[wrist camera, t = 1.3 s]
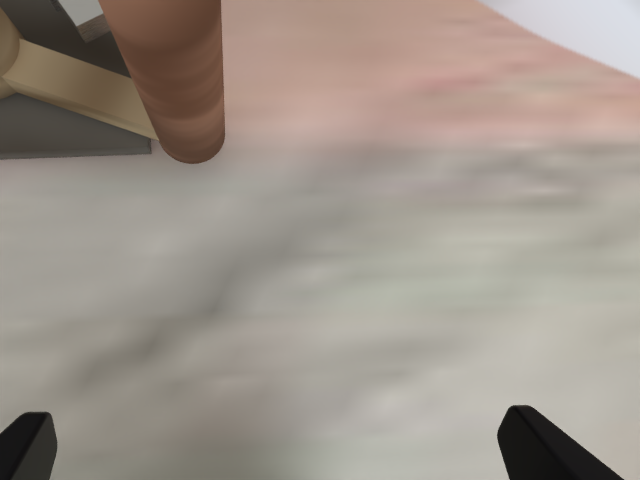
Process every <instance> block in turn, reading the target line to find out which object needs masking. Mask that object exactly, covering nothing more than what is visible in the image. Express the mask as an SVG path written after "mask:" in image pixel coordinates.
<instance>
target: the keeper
mask: <svg viewBox="0 0 640 480" xmlns="http://www.w3.org/2000/svg"><path fill="white" fill-rule="evenodd" d="M49 2H50V3H51V5H52V6H53V7H54V9H55V10H56V12H58V11H60V10H63V12H64V13H65V14H66V16H67V17H68V19H69V20H70V21H71V23H72V24H73V26H74V27H75V28H76V30H77V31H78V33H79V34H80V36H81V37H82V38H83V40H84V41H85V43H88V42H90V41H92V40H94V39H96V38H97V37H99V36H101V35H103V34H105V33H107V32H109V31H111V29H110V27H109V25H108V22H107V20H106V18H105V15H104V13H103V11H102V9H101V6H100V4H99V2H98V0H49Z"/></svg>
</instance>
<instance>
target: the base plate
mask: <svg viewBox="0 0 640 480" xmlns="http://www.w3.org/2000/svg"><path fill="white" fill-rule="evenodd" d="M0 7H1V9H2V10H3V11H4V12H5V14H6V15H7V16H8V18H9V19H10V20H11V21H12V23H13V24H14V25H15V27H16V28H17V29H18V31H19V32H20V33H21V34H22V36H23V37H24V38H25V40H26V41H28V42H31V43H34V44H36V45H39V46H42V47H45V48H47V49H50V50H53V51H56V52H59V53H61V54H64V55H67V56H70V57H73V58H75V59H78V60H81V61H84V62H87V63H89V64H92V65H95V66H98V67H100V68H103V69H106V70H109V71H112V72H114V73H117V74H120V75H123V76H126V77H128V78H131V75H130V73H129V71H128V68H127V66H126V64H125V61H124V59H123V57H122V55H121V52H120V50H119V48H118V45H117V43H116V41H115V38H114V36H113V34H112V32H111V31H109V32H107V33H105V34H103V35H101V36H99V37H97V38H96V39H94V40H92V41H90V42H88V43H85V41H84V40H83V38H82V37H81V36H80V34H79V33H78V31H77V30H76V28H75V27H74V26H73V24H72V23H71V21H70V20H69V19H68V17H67V16H66V14H65V13H64V12H63V10H60V11H58V12H56V10H55V9H54V7H53V6H52V5H51V3H50V2H49V0H0ZM131 79H132V78H131ZM133 154H151V141H150V138H149V137H146V136H143V135H140V134H137V133H135V132H132V131H129V130H126V129H123V128H120V127H117V126H114V125H111V124H108V123H105V122H102V121H100V120H97V119H94V118H91V117H88V116H85V115H82V114H79V113H76V112H73V111H70V110H67V109H65V108H62V107H59V106H56V105H53V104H50V103H47V102H44V101H41V100H38V99H35V98H32V97H30V96H27V95H24V94H21V93H18V92H16V93H14V94H13V95H11V96H8V97H6V98H3V99H0V159H25V158H52V157H79V156H106V155H133Z"/></svg>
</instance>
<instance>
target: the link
mask: <svg viewBox="0 0 640 480" xmlns="http://www.w3.org/2000/svg"><path fill="white" fill-rule="evenodd" d="M98 2H99V4H100V6H101V9H102V11H103V13H104V15H105V18H106V20H107V22H108V25H109V27H110V29H111V32H112V34H113V36H114V38H115V41H116V43H117V45H118V48H119V50H120V52H121V55H122V57H123V59H124V61H125V64H126V66H127V68H128V71H129V73H130V75H131V78H132V79H131V78H128V77H126V76H123V75H120V74H117V73H114V72H112V71H109V70H106V69H103V68H100V67H98V66H95V65H92V64H89V63H87V62H84V61H81V60H78V59H75V58H73V57H70V56H67V55H64V54H61V53H59V52H56V51H53V50H50V49H47V48H45V47H42V46H39V45H36V44H34V43H31V42H28V41H26V40H25V38H24V37H23V36H22V34H21V33H20V32H19V31H18V29H17V28H16V27H15V25H14V24H13V23H12V21H11V20H10V19H9V18H8V16H7V15H6V14H5V12H4V11H3V10H2V9H1V7H0V99H3V98H6V97H8V96H11V95H13V94H14V93H16V92H18V93H21V94H24V95H27V96H30V97H32V98H35V99H38V100H41V101H44V102H47V103H50V104H53V105H56V106H59V107H62V108H65V109H67V110H70V111H73V112H76V113H79V114H82V115H85V116H88V117H91V118H94V119H97V120H100V121H102V122H105V123H108V124H111V125H114V126H117V127H120V128H123V129H126V130H129V131H132V132H135V133H137V134H140V135H143V136H146V137H149V138H152V139H155V140H158V141H159V142H160V144H161V146H162V148H163V149H164V151H165V152H166V153H167V154H168V155H169V156H171V157H172V158H174V159H175V160H177V161H180V162H183V163H188V164H196V163H202V162H205V161H207V160H209V159H211V158H212V157H214V156H215V155H216V154H217V153H218V152H219V151H220V149H221V147H222V145H223V143H224V139H225V117H224V86H223V54H222V23H221V0H98Z"/></svg>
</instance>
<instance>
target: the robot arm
mask: <svg viewBox="0 0 640 480" xmlns="http://www.w3.org/2000/svg"><path fill="white" fill-rule="evenodd" d="M497 438H498V444H499V447H500V450H501V453H502V457H503V460H504V463H505V466H506V469H507V473H508V476H509V479H510V480H624V479H623V478H621V477H620V476H619V475H618V474H616V473H615V472H614V471H612V470H611V469H610V468H609V467H607V466H606V465H605V464H604V463H602V462H601V461H600V460H599V459H597V458H596V457H595V456H594V455H592V454H591V453H590V452H588V451H587V450H586V449H585V448H583V447H582V446H581V445H580V444H578V443H577V442H576V441H575V440H573V439H572V438H571V437H570V436H568V435H567V434H566V433H564V432H563V431H562V430H561V429H559V428H558V427H557V426H556V425H554V424H553V423H552V422H551V421H549V420H548V419H547V418H546V417H544V416H543V415H542V414H541V413H539V412H538V411H537V410H535V409H534V408H533V407H531V406H528V405H513V406H511V407H509V409H508V410H507V412H506V414H505V416H504V418H503V421H502V423H501V425H500V427H499V429H498V433H497ZM56 452H57V438H56V433H55V428H54V424H53V419H52V416H51V414H50V413H49V412H26V413H24V414H22V415H20V416H19V417H18V418H17V419H16V420H15V421H14V422H13V423H11V424H10V425H9V426H8V427H7V428H6V429H5V430H4V431H3V432H1V433H0V480H49V479H50V475H51V471H52V468H53V464H54V460H55V457H56Z"/></svg>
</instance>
